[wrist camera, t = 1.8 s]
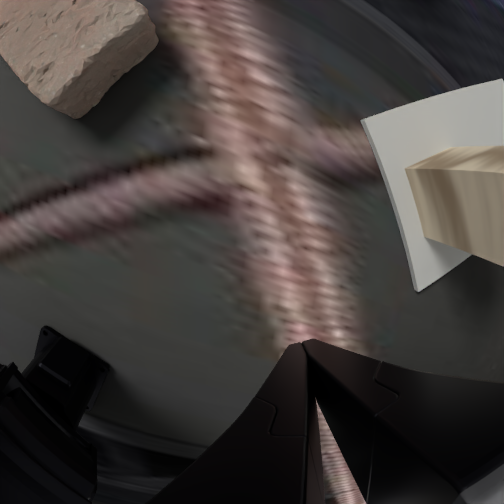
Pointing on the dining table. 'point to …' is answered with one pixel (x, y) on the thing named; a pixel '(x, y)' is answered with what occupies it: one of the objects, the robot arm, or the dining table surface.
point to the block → (462, 199)
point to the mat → (426, 145)
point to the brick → (74, 47)
